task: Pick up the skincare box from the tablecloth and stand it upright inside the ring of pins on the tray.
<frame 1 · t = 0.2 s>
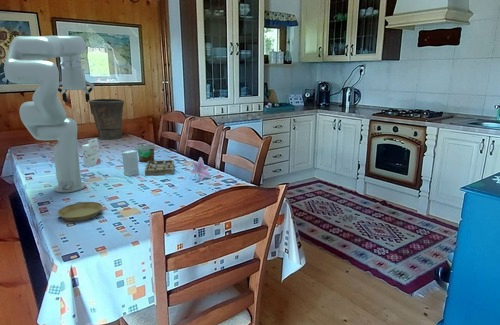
hand: (76, 102, 169), 36 cm above the table, tool pointing down, fingers open, 9 cm apart
pin tray: (160, 169, 186), on the table
ink cartridge box: (92, 164, 197), on the table
lily: (200, 179, 171), on the table
clay pot: (109, 137, 279), on the table
skincare box: (131, 174, 178), on the table
food container: (144, 161, 204), on the table
plant saucer: (81, 216, 127), on the table
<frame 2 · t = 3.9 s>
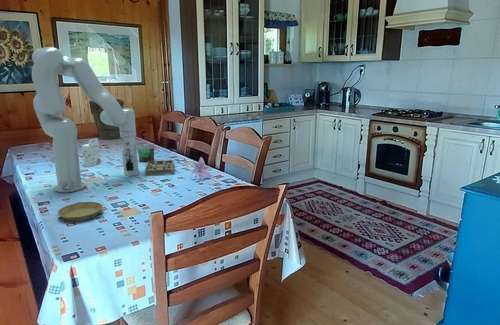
hand: (130, 168, 177), 3 cm above the table, tool pointing down, fingers closed on skincare box, 6 cm apart
skincare box: (131, 174, 178), on the table, touching gripper
everything else where it was.
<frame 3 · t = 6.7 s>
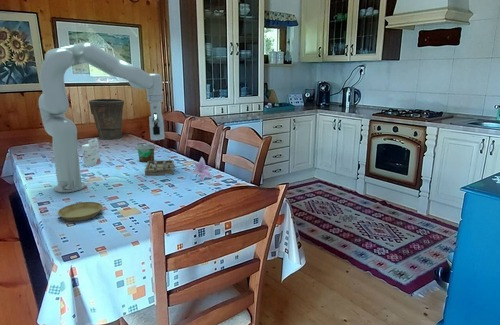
hand: (157, 133, 181), 20 cm above the table, tool pointing down, fingers closed on skincare box, 6 cm apart
skincare box: (157, 139, 182), point 16 cm above the table, touching gripper
everything else where it was.
when the fingers open (6 cm above the table, at t = 9.9 s): skincare box drops 1 cm, resting on pin tray.
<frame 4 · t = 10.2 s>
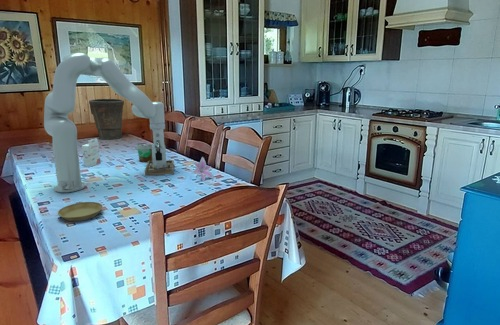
hand: (159, 158, 184), 6 cm above the table, tool pointing down, fingers open, 9 cm apart
skincare box: (159, 168, 186), point 1 cm above the table, touching pin tray
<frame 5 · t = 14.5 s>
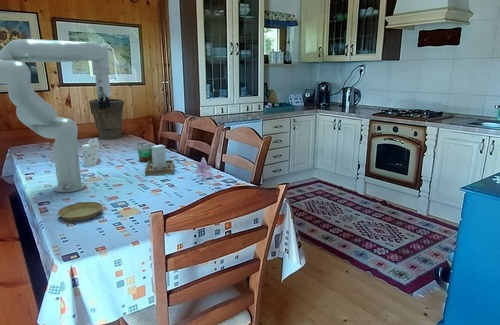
hand: (104, 108, 169), 33 cm above the table, tool pointing down, fingers open, 9 cm apart
at the end: skincare box 0.2 cm off-centre on the pin tray, point 1.0 cm above the pin tray's base; skincare box tilted 0°; the gripper is holding nothing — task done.
